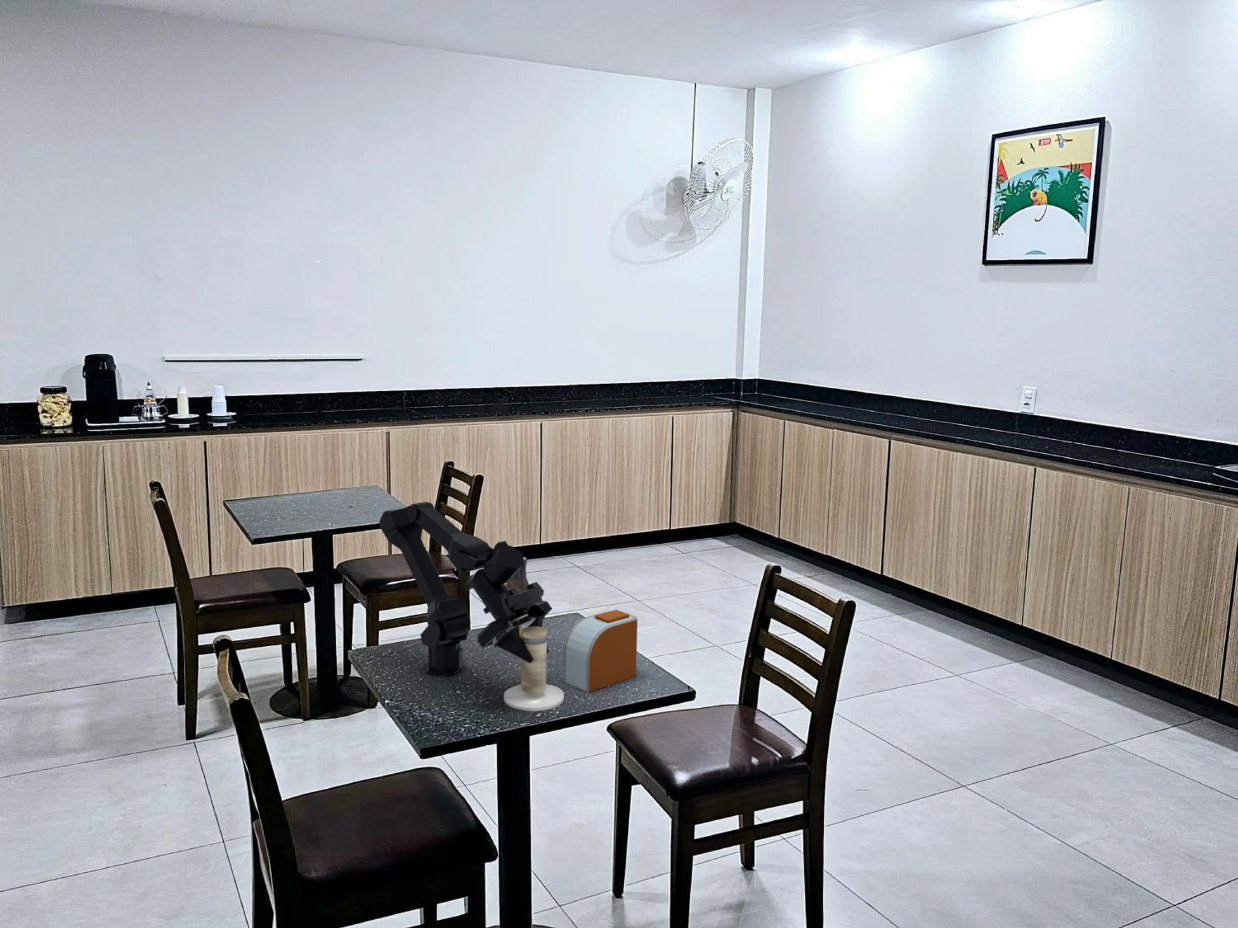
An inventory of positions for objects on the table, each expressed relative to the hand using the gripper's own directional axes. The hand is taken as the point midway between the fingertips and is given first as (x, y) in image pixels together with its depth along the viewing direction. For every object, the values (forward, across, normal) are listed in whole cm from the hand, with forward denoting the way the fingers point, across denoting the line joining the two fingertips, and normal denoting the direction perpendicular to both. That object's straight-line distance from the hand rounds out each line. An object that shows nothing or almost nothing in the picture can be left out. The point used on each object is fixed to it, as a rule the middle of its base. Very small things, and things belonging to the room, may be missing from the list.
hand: (539, 657), depth 200 cm
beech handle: (+4, 0, +6) cm, 7 cm away
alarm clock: (+9, +17, +4) cm, 20 cm away
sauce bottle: (-11, +27, +24) cm, 38 cm away
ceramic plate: (+5, 0, +7) cm, 9 cm away
